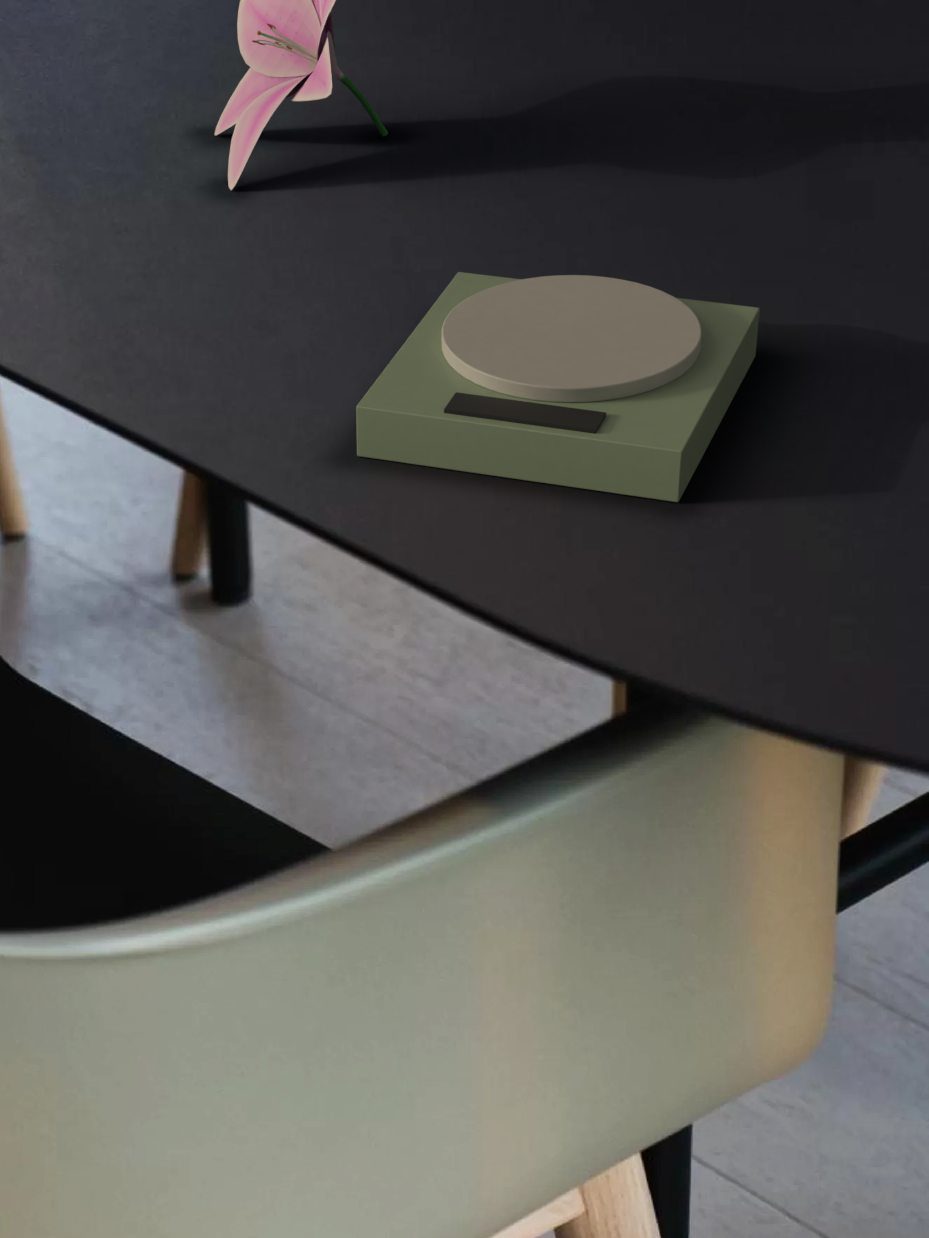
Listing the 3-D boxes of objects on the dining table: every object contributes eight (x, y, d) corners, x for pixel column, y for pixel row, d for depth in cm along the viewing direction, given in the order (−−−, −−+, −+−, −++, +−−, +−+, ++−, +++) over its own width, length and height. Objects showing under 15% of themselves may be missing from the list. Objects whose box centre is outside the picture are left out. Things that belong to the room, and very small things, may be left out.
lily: (267, 104, 122) (165, -58, 115) (487, 21, 116) (393, -155, 109) (228, 277, 116) (118, 116, 109) (458, 198, 110) (356, 24, 103)
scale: (755, 356, 97) (761, 291, 95) (678, 503, 89) (683, 435, 87) (457, 318, 101) (458, 256, 99) (356, 456, 92) (355, 390, 91)
